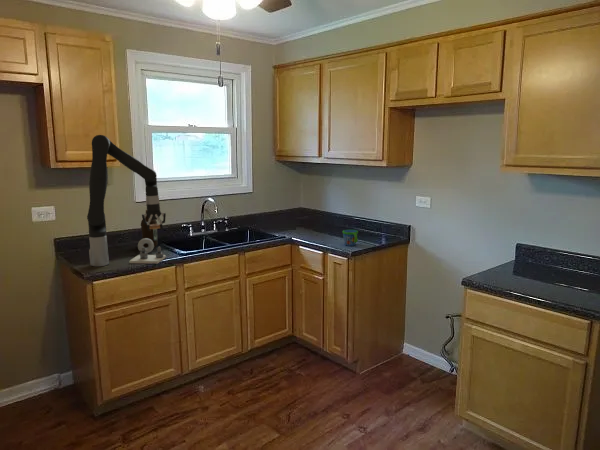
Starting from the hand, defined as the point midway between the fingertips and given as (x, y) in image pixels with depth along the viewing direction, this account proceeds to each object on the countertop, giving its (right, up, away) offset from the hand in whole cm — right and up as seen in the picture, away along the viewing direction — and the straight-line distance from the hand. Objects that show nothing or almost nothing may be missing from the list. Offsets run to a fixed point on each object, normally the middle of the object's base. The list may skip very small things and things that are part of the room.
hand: (155, 230), depth 270 cm
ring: (0, +1, 0) cm, 1 cm away
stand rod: (-7, -17, +1) cm, 18 cm away
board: (-5, -18, +2) cm, 19 cm away
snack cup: (+122, -11, +40) cm, 129 cm away
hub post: (+1, -16, +4) cm, 17 cm away
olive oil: (-16, -11, +39) cm, 44 cm away
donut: (-12, -15, +19) cm, 27 cm away
